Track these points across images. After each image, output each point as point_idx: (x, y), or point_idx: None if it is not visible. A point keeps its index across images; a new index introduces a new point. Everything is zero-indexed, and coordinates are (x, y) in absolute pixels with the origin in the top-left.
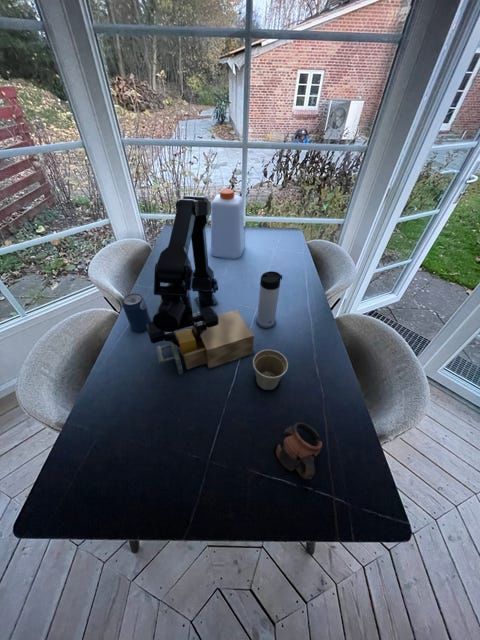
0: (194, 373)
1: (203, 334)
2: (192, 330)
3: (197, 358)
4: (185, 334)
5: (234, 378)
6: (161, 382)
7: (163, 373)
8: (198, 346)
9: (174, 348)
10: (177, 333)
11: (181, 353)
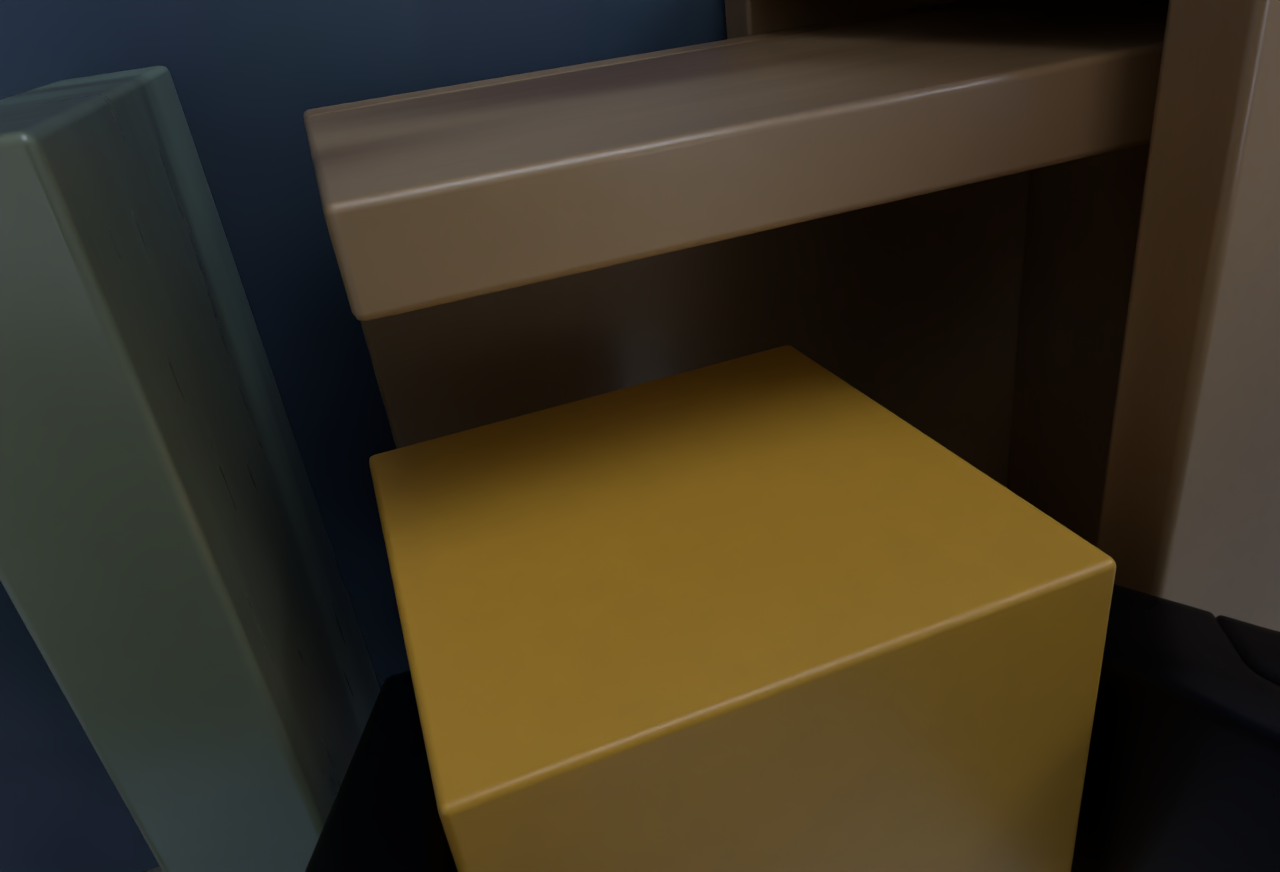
0: None
1: (1231, 612)
2: (949, 176)
3: None
4: (843, 846)
5: None
6: (4, 852)
7: (5, 700)
8: (763, 290)
9: None
10: (522, 835)
11: (387, 415)
